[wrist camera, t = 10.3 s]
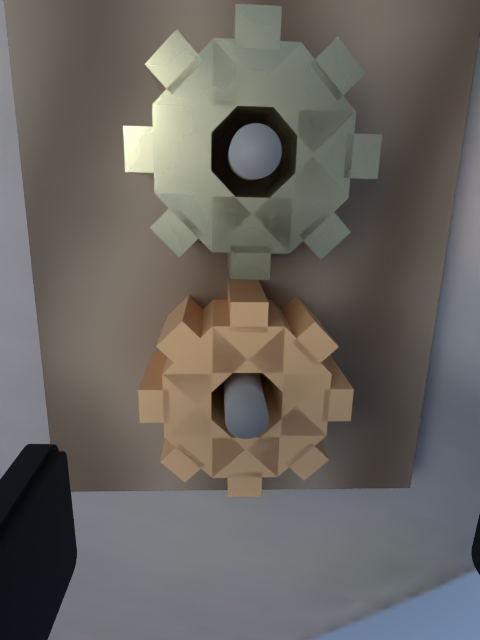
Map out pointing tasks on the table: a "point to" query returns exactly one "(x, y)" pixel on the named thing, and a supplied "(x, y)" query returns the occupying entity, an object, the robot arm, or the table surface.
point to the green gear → (246, 108)
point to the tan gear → (244, 357)
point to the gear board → (212, 267)
